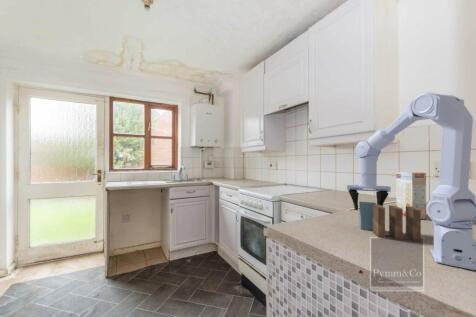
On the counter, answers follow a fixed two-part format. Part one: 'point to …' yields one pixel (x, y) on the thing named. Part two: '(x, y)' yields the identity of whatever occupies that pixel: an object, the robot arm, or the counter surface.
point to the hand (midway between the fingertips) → (367, 210)
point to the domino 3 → (396, 222)
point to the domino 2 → (379, 221)
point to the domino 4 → (413, 223)
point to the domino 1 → (366, 215)
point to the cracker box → (411, 191)
